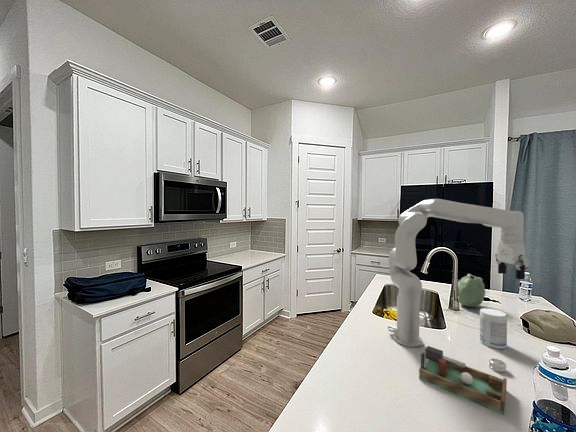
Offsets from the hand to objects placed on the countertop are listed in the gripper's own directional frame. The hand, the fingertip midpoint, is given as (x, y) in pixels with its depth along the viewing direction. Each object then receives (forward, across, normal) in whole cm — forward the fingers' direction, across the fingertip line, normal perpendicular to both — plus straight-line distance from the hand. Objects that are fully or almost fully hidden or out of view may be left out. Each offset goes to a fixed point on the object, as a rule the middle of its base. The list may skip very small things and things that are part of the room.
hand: (510, 276), depth 112 cm
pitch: (+31, +29, -39) cm, 57 cm away
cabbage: (+31, -46, +12) cm, 57 cm away
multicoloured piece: (+30, +26, -42) cm, 58 cm away
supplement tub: (+32, 0, -7) cm, 32 cm away
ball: (+28, +30, -38) cm, 56 cm away
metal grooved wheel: (+32, +19, -19) cm, 42 cm away
